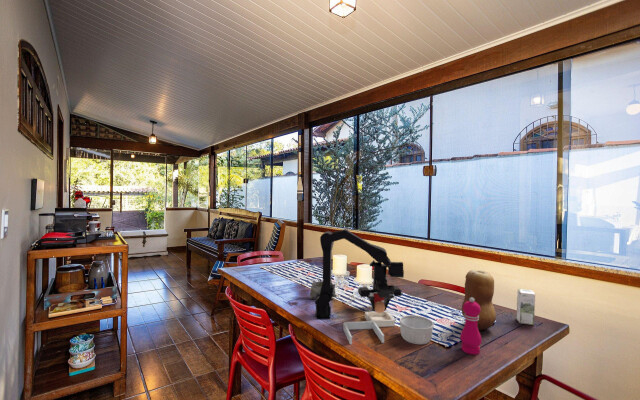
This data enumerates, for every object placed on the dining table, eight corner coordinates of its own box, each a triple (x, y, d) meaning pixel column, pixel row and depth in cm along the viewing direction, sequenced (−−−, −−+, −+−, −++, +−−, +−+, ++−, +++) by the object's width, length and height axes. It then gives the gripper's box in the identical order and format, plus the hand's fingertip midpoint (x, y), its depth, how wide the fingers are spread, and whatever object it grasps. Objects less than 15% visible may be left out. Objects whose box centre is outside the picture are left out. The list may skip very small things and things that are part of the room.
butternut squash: (502, 334, 133) (504, 274, 132) (473, 336, 131) (475, 275, 130) (480, 320, 147) (482, 266, 146) (454, 322, 144) (455, 267, 144)
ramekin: (428, 349, 119) (429, 331, 119) (394, 340, 126) (395, 323, 126) (436, 336, 130) (436, 319, 130) (404, 328, 137) (405, 312, 137)
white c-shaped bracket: (349, 344, 122) (349, 336, 122) (343, 329, 136) (343, 322, 136) (384, 342, 124) (384, 335, 124) (374, 327, 137) (374, 321, 137)
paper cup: (387, 311, 156) (387, 283, 155) (371, 310, 157) (371, 282, 157) (387, 306, 163) (387, 279, 163) (372, 304, 165) (372, 278, 165)
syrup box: (530, 320, 147) (531, 289, 147) (534, 325, 142) (535, 293, 141) (516, 318, 149) (517, 288, 149) (519, 323, 144) (520, 292, 143)
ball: (372, 310, 146) (372, 299, 146) (382, 310, 147) (383, 299, 146) (375, 314, 141) (375, 303, 141) (386, 314, 142) (386, 303, 141)
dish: (371, 327, 138) (371, 321, 138) (364, 317, 149) (365, 311, 149) (394, 326, 139) (394, 320, 139) (386, 316, 150) (386, 311, 150)
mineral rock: (337, 299, 172) (337, 281, 172) (324, 304, 164) (324, 285, 164) (319, 294, 181) (320, 276, 181) (306, 299, 173) (306, 280, 173)
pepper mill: (456, 346, 122) (457, 294, 121) (474, 345, 123) (475, 294, 122) (466, 355, 115) (468, 301, 114) (485, 355, 115) (487, 300, 115)
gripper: (364, 281, 134) (363, 318, 135) (406, 280, 136) (405, 316, 137) (358, 274, 145) (357, 308, 146) (397, 274, 147) (396, 307, 148)
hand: (379, 310), depth 144 cm, fingers closed on ball, 5 cm apart
